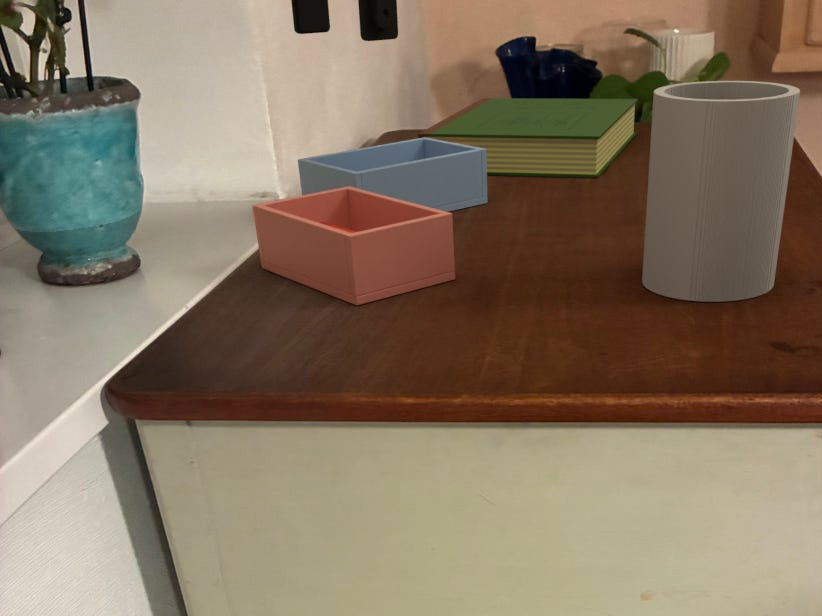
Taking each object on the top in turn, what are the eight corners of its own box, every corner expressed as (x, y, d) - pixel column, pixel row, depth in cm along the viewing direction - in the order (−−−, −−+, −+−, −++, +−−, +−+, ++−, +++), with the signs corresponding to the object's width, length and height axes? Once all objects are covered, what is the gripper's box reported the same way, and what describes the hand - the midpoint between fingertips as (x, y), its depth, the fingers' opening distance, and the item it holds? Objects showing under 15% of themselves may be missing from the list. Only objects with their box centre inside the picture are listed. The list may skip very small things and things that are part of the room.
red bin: (261, 268, 78) (251, 205, 75) (355, 246, 82) (349, 185, 80) (356, 305, 70) (349, 236, 67) (455, 279, 74) (452, 213, 71)
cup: (621, 291, 70) (631, 97, 63) (671, 258, 77) (685, 78, 70) (748, 308, 66) (773, 104, 60) (790, 272, 73) (817, 83, 66)
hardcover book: (483, 132, 124) (482, 98, 122) (635, 134, 120) (637, 99, 118) (418, 174, 105) (415, 135, 103) (596, 179, 100) (597, 137, 98)
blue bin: (360, 231, 86) (354, 173, 84) (304, 214, 92) (297, 159, 90) (487, 203, 94) (486, 148, 91) (428, 188, 100) (425, 137, 97)
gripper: (218, -234, 75) (250, 33, 85) (347, -264, 64) (367, 46, 74) (304, -227, 79) (326, 27, 89) (440, -254, 68) (447, 39, 78)
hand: (345, 36), depth 82 cm, fingers open, 9 cm apart
